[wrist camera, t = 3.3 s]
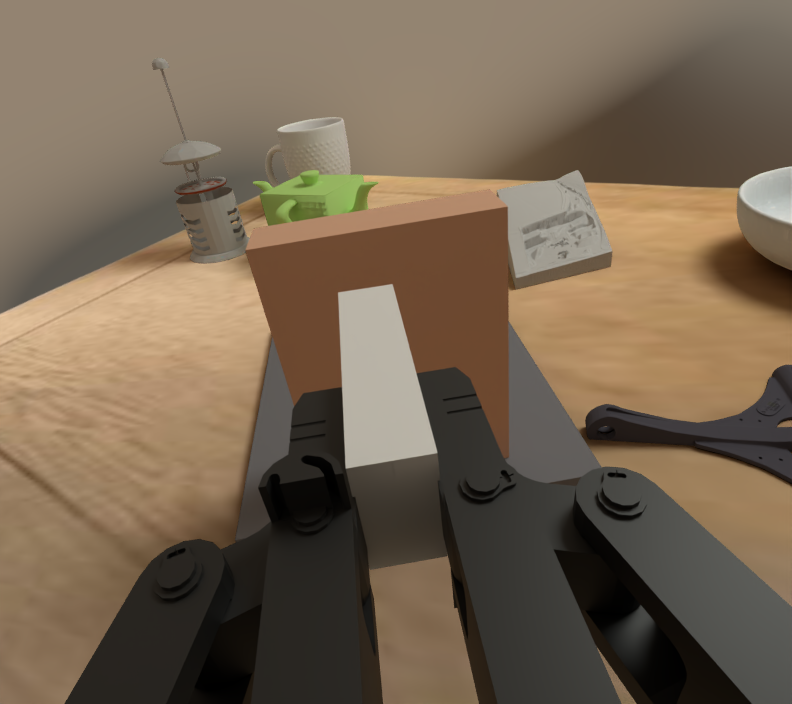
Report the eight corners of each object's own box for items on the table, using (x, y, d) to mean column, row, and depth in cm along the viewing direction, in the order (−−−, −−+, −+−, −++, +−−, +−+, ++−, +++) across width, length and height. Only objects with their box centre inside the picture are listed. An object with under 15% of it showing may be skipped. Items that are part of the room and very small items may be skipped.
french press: (194, 269, 69) (116, 63, 55) (183, 246, 78) (114, 65, 64) (262, 249, 72) (204, 50, 58) (244, 229, 81) (190, 53, 67)
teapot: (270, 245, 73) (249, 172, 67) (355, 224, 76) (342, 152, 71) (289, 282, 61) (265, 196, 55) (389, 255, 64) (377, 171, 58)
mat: (486, 295, 52) (486, 286, 51) (603, 484, 30) (604, 472, 29) (277, 330, 51) (274, 322, 50) (240, 550, 29) (234, 540, 29)
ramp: (601, 302, 48) (607, 249, 45) (450, 287, 55) (446, 241, 52) (629, 207, 68) (635, 167, 65) (516, 205, 75) (516, 168, 72)
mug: (266, 218, 85) (244, 137, 78) (285, 199, 94) (267, 124, 87) (351, 210, 82) (335, 126, 75) (362, 191, 91) (349, 114, 84)
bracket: (577, 376, 40) (580, 348, 38) (795, 383, 36) (807, 351, 34) (595, 529, 28) (599, 496, 27) (918, 562, 24) (945, 526, 23)
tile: (494, 423, 34) (488, 188, 25) (509, 457, 31) (507, 206, 22) (321, 454, 34) (254, 226, 25) (320, 491, 31) (245, 250, 22)
